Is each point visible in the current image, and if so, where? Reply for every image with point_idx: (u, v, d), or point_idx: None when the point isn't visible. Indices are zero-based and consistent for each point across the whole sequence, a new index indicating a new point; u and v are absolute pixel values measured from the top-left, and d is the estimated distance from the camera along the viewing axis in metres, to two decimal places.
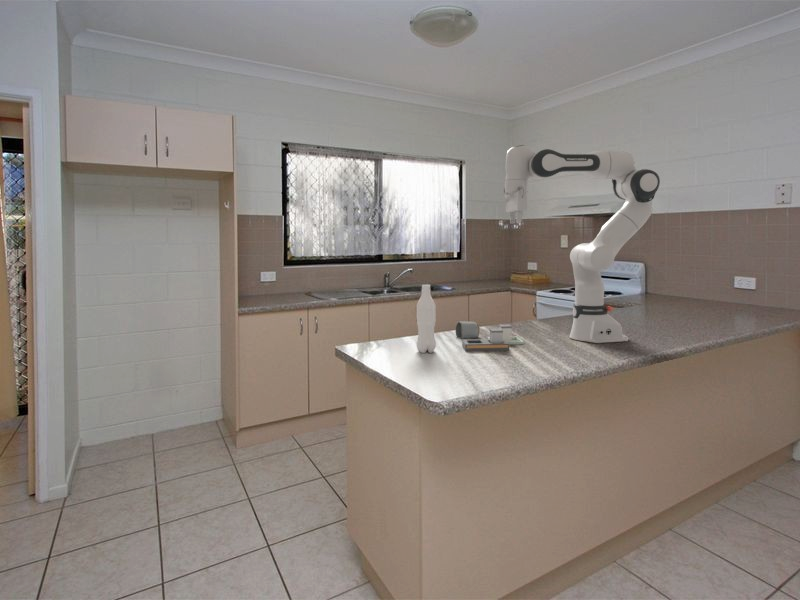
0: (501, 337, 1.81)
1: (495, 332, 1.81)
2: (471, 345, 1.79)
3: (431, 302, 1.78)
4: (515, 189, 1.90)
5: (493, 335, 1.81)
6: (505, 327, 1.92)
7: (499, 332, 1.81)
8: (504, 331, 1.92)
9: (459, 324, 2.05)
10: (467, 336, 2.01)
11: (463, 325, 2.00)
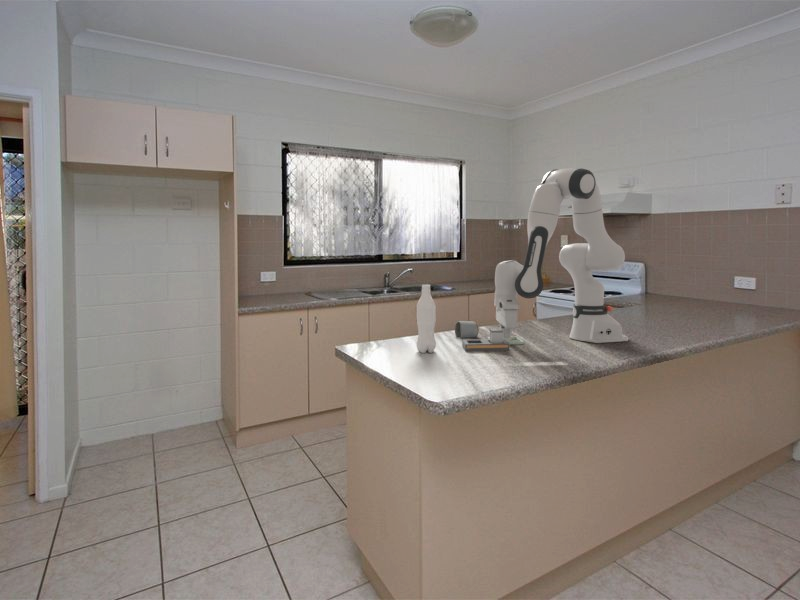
0: (501, 337, 1.81)
1: (495, 332, 1.81)
2: (471, 345, 1.79)
3: (431, 302, 1.78)
4: None
5: (493, 335, 1.81)
6: None
7: (499, 332, 1.81)
8: (504, 331, 1.92)
9: (458, 324, 2.06)
10: (466, 336, 2.01)
11: (462, 325, 2.01)
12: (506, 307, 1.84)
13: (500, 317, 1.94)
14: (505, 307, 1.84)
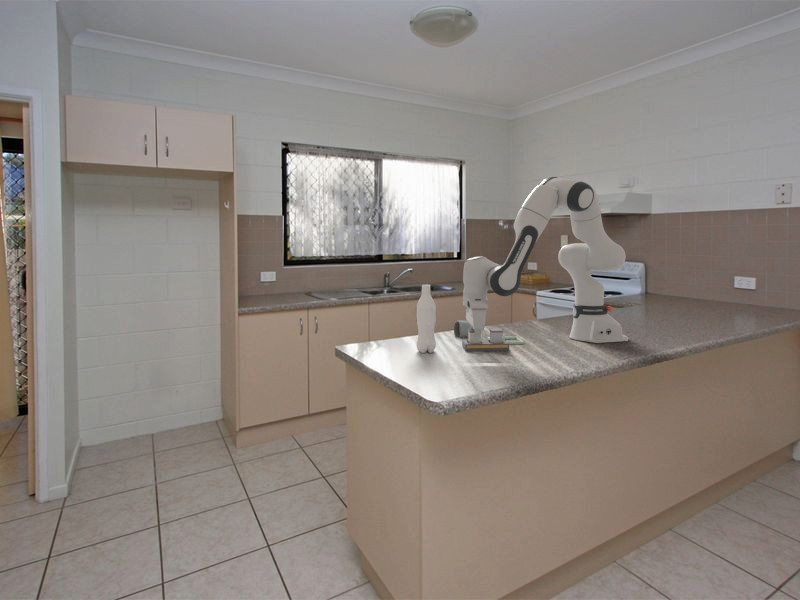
0: (501, 337, 1.81)
1: (495, 332, 1.81)
2: (471, 345, 1.79)
3: (431, 302, 1.78)
4: None
5: (493, 335, 1.81)
6: (474, 332, 1.80)
7: (499, 332, 1.81)
8: (473, 336, 1.81)
9: (457, 323, 2.07)
10: (465, 335, 2.03)
11: (461, 324, 2.02)
12: (474, 306, 1.72)
13: (469, 317, 1.83)
14: (473, 306, 1.73)
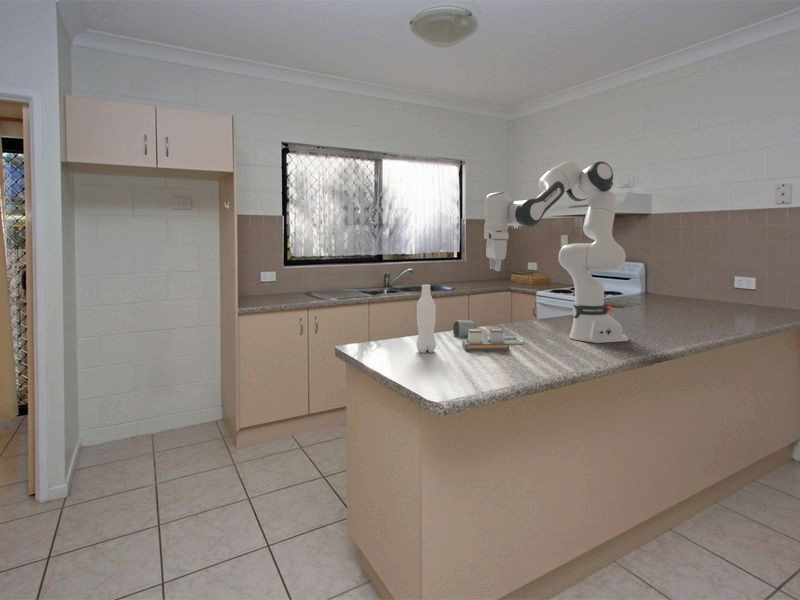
0: (501, 337, 1.81)
1: (495, 332, 1.81)
2: (471, 345, 1.79)
3: (431, 302, 1.78)
4: None
5: (493, 335, 1.81)
6: (474, 332, 1.80)
7: (499, 332, 1.81)
8: (473, 336, 1.81)
9: (456, 323, 2.08)
10: (464, 335, 2.04)
11: (460, 324, 2.03)
12: (495, 237, 1.82)
13: (490, 251, 1.93)
14: (494, 237, 1.82)
